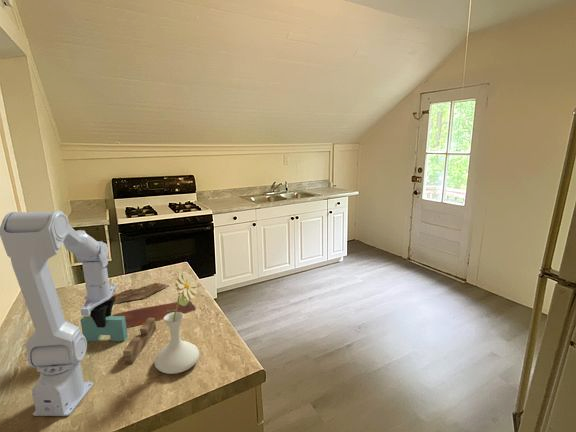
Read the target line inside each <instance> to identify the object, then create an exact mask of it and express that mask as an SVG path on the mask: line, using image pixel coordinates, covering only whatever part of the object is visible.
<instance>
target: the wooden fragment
mask: <svg viewBox="0 0 576 432" xmlns="http://www.w3.org/2000/svg"><path fill="white" fill-rule="evenodd" d="M166 287H170V285H169V284H165V283H161V282H154V283H150V284H148V285H146V286H141V287H139V288H135V289H132V288H130V289H126V290H124V291H121V292H119V293H116V294H112V297H115V302H114V304H113V305H116V304H119V303H124V302H130V301H135V300H140V299H146V298H148V297H150V296H152V295H154V294H156V293H157V292H160V291H162V290H163V289H165V288H166Z"/></svg>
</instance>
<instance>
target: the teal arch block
mask: <svg viewBox="0 0 576 432" xmlns="http://www.w3.org/2000/svg"><path fill="white" fill-rule="evenodd" d="M79 320H80V328H81V333H82V334H83V335H84V336H85V338H86V341H87V342H98V341H99V340H100V338H102V336H109V337H110V342H125V341H126V340H127V338H128V328H126V321H125V316H112V315H111V316H106V325H105V327H104V328H98V327H97V326H96V324H95V322H94V320H93V319H92V317H91V316H90V315H83V317H82V318H80V319H79Z"/></svg>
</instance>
